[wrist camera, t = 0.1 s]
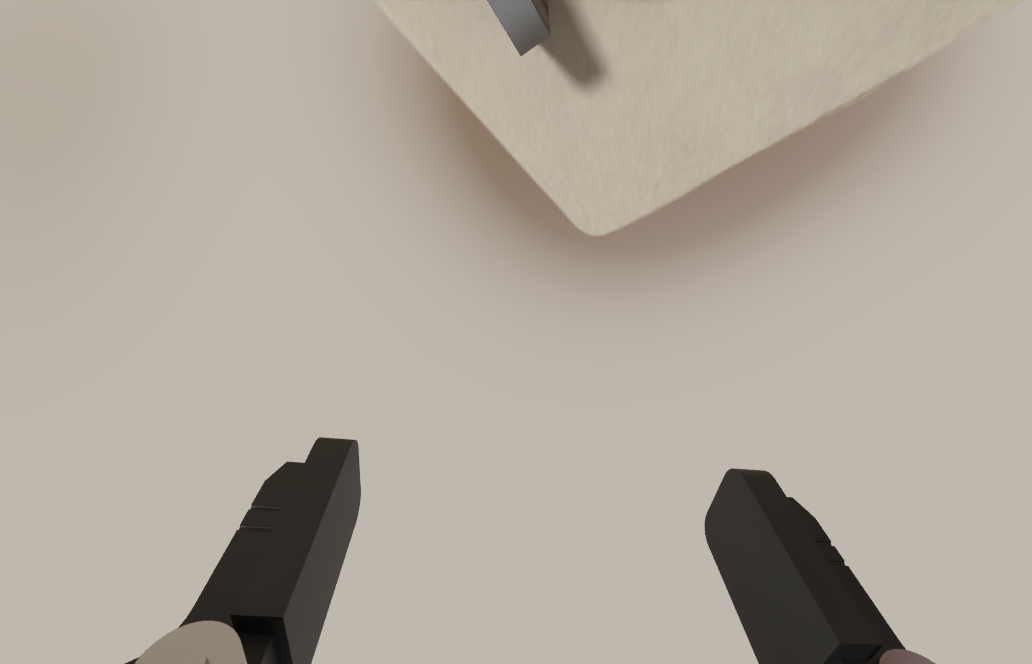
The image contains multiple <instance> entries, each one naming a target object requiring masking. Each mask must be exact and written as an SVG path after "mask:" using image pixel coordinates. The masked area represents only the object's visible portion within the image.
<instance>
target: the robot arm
mask: <svg viewBox="0 0 1032 664" xmlns="http://www.w3.org/2000/svg"><path fill="white" fill-rule="evenodd" d="M360 497H361V486H360V469H359V450H358V442H357V441H356V440H349V439H335V438H321V437H320V438H318V439H317V440H316V442H315V443H314V445H313V447H312V449H311V451H310V453H309V455H308V457H307V459H306V462H305V463H298V462H286V463H285V464H284V465H283V466H282V467H280V468H279V469H278V470H277V471H276V472H275V473H274V474H272V475H271V476H270V477H269V478H268V479H267V480H266V481H265V482H264V484H263V485H262V487H261V489H260V491H259V492H258V494H257V496H256V498H255V500H254V501H253V503H252V506H251V509H250V510H248V512H247V513H246V515H245V517H244V519H243V521H242V523H241V524H240V529H239V530H237V531H236V533H235V535H234V537H233V538H232V540H231V542H230V544H229V545H228V547H227V549H226V550H225V552H224V554H223V556H222V558H221V560H220V561H219V563H218V565H217V566H216V568H215V570H214V572H213V574H212V575H211V577H210V579H209V581H208V582H207V584H206V586H205V587H204V589H203V591H202V593H201V595H200V596H199V598H198V600H197V602H196V603H195V605H194V607H193V609H192V610H191V612H190V613H189V615H188V616H187V618H186V619H185V620H184V621H183V623H182V624H181V625H180V626H179V628H177V629H175V630H173V631H172V632H170V633H168V634H166V635H165V636H163V637H162V638H161V639H159V640H158V641H156V642H155V643H154V644H153V645H151V646H150V647H149V648H148V649H147V650H146V651H145V652H144V653H143V654H142V655H141V656H140V657H139V658H137V659H134V660H132V661H130V662H128V663H125V664H311V662H312V659H313V656H314V653H315V650H316V646H317V643H318V640H319V637H320V634H321V631H322V628H323V624H324V621H325V618H326V615H327V612H328V609H329V605H330V602H331V599H332V596H333V593H334V590H335V587H336V584H337V580H338V577H339V574H340V571H341V568H342V565H343V562H344V559H345V555H346V552H347V549H348V546H349V542H350V540H351V537H352V533H353V530H354V527H355V524H356V520H357V517H358V511H359V506H360ZM705 535H706V540H707V543H708V546H709V548H710V550H711V553H712V555H713V557H714V560H715V562H716V564H717V567H718V569H719V571H720V574H721V576H722V578H723V581H724V583H725V585H726V588H727V590H728V593H729V595H730V597H731V600H732V602H733V604H734V606H735V609H736V611H737V613H738V616H739V618H740V621H741V623H742V625H743V628H744V630H745V632H746V634H747V637H748V639H749V642H750V644H751V646H752V649H753V651H754V653H755V656H756V658H757V660H758V662H759V664H935V663H934V662H932V661H930V660H929V659H927V658H925V657H923V656H921V655H919V654H917V653H914V652H911V651H908V650H906V649H905V648H904V646H903V645H902V644H901V642H900V641H899V640H898V638H897V637H896V635H895V634H894V632H893V631H892V629H891V628H890V627H889V625H888V624H887V622H886V621H885V619H884V618H883V616H882V615H881V613H880V612H879V611H878V609H877V607H876V606H875V605H874V603H873V602H872V600H871V599H870V597H869V596H868V594H867V593H866V592H865V590H864V589H863V587H862V586H861V585H860V583H859V581H858V580H857V578H856V577H855V575H854V574H853V573H852V571H851V570H850V568H849V567H848V566H845V564H844V559H843V558H842V557H841V555H840V554H839V552H838V551H837V549H836V548H835V546H831V541H830V539H829V538H828V536H827V535H826V533H825V532H824V530H823V529H822V527H821V526H820V525H819V523H818V522H817V520H816V519H815V518H814V517H813V516H812V515H811V514H810V513H809V512H808V511H807V510H806V509H804V508H803V507H802V506H801V505H800V504H799V503H798V502H797V501H795V500H794V499H793V498H791V497H786V495H785V494H784V492H783V491H782V489H781V488H780V486H779V485H778V483H777V482H776V480H775V478H774V477H773V476H772V475H771V474H770V473H769V472H767V471H760V470H746V469H730V470H728V471H727V472H726V474H725V476H724V478H723V480H722V482H721V484H720V486H719V489H718V491H717V493H716V495H715V497H714V499H713V501H712V504H711V506H710V508H709V510H708V512H707V515H706V518H705Z"/></svg>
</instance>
